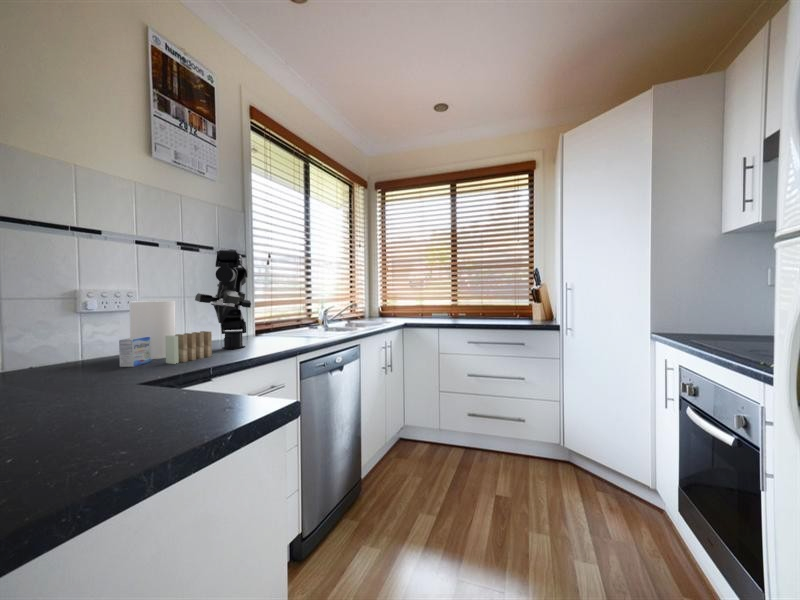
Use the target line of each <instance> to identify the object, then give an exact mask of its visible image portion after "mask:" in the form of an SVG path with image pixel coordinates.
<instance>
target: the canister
mask: <svg viewBox="0 0 800 600" xmlns="http://www.w3.org/2000/svg"><path fill="white" fill-rule="evenodd" d="M176 330H177V329H176V300H134V301H133V300H131V301H129V338H134V337H141V336H148V337H150V347H151V360H160V359H166V338H165V336H168V335H172V336H175V335H176V334H177V333H176Z"/></svg>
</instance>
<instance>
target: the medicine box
mask: <svg viewBox="0 0 800 600" xmlns="http://www.w3.org/2000/svg"><path fill="white" fill-rule="evenodd" d="M118 347H119V348H118V350H119V351H118V352H119V353H118V354H119V356H118V357H119V367H120V368H135V367H139V366H141V365H146V364H148V363H151V362H152V359H151V347H150V337H148V336H141V337H134V338H130V337H129V338H123V339H119V340H118Z"/></svg>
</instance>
